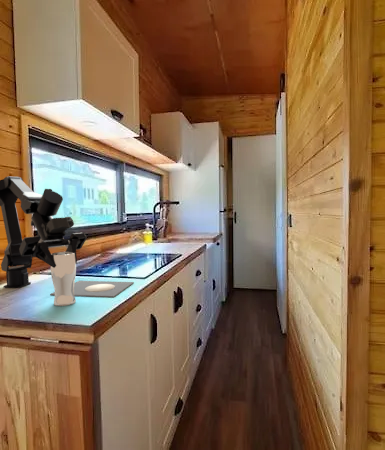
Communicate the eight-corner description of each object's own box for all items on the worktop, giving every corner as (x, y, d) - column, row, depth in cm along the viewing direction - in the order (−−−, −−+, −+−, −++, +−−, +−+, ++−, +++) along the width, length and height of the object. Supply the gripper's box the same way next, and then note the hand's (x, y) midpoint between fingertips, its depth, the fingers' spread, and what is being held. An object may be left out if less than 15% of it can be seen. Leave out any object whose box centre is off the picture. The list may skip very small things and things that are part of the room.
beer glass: (50, 307, 87) (47, 255, 86) (54, 300, 93) (52, 252, 92) (76, 305, 88) (74, 254, 87) (78, 298, 95) (76, 251, 94)
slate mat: (50, 295, 99) (50, 293, 99) (79, 281, 117) (79, 280, 117) (114, 297, 96) (113, 295, 96) (133, 283, 114) (133, 281, 113)
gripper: (21, 208, 84) (41, 251, 78) (82, 207, 99) (103, 243, 93) (11, 235, 90) (29, 277, 83) (70, 231, 104) (90, 266, 98)
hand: (65, 265), depth 89 cm, fingers closed on beer glass, 6 cm apart
